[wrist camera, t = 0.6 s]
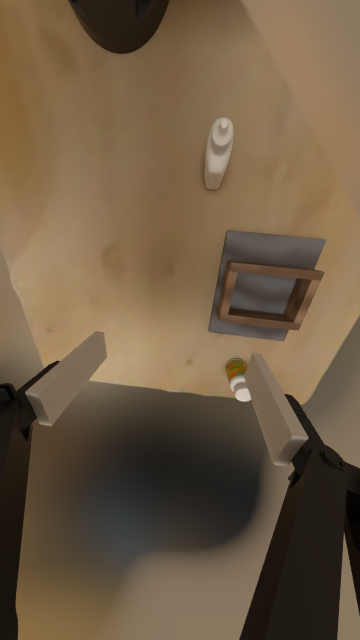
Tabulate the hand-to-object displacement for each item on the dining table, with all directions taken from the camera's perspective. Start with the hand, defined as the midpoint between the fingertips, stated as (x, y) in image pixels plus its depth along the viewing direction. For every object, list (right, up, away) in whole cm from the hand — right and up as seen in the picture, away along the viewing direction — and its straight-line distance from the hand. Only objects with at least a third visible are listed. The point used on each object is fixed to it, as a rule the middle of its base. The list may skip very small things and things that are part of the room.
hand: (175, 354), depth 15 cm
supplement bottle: (+16, -9, +30) cm, 35 cm away
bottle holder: (+18, +9, +21) cm, 29 cm away
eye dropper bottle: (+6, +29, +14) cm, 33 cm away
